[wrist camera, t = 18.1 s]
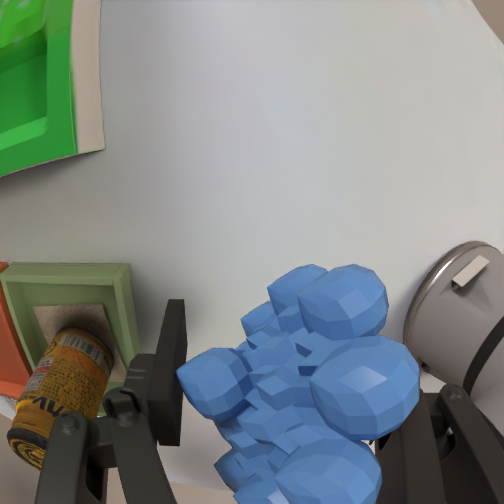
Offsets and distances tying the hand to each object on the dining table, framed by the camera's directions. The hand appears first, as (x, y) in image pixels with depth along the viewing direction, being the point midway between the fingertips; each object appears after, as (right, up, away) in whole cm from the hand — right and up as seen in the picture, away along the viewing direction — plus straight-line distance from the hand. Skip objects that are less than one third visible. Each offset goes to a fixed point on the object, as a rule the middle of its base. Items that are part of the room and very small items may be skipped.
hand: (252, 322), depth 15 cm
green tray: (-15, -4, +8) cm, 18 cm away
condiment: (-15, -5, +8) cm, 18 cm away
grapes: (0, 0, +1) cm, 1 cm away
